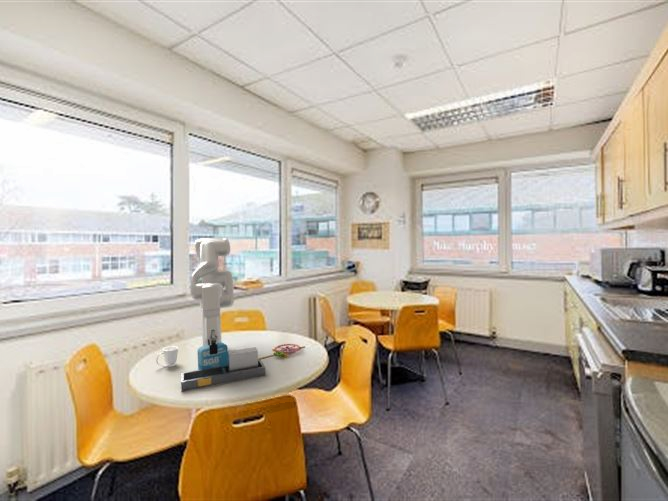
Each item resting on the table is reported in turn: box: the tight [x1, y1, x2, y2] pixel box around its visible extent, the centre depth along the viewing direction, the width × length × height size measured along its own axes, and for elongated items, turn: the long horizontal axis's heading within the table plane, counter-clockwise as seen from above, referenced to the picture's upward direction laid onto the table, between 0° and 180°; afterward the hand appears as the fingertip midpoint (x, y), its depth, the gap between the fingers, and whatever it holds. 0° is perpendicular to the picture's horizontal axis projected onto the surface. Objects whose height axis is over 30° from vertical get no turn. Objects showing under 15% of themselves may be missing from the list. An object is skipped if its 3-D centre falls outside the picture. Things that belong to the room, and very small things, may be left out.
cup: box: [155, 345, 179, 368], centre depth 160 cm, size 7×10×8 cm
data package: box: [197, 342, 229, 370], centre depth 152 cm, size 12×4×12 cm, turn 131°
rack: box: [180, 346, 267, 392], centre depth 144 cm, size 11×33×11 cm, turn 114°
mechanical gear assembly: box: [258, 343, 305, 360], centre depth 174 cm, size 30×4×15 cm
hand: (212, 350), depth 151 cm, fingers open, 9 cm apart
